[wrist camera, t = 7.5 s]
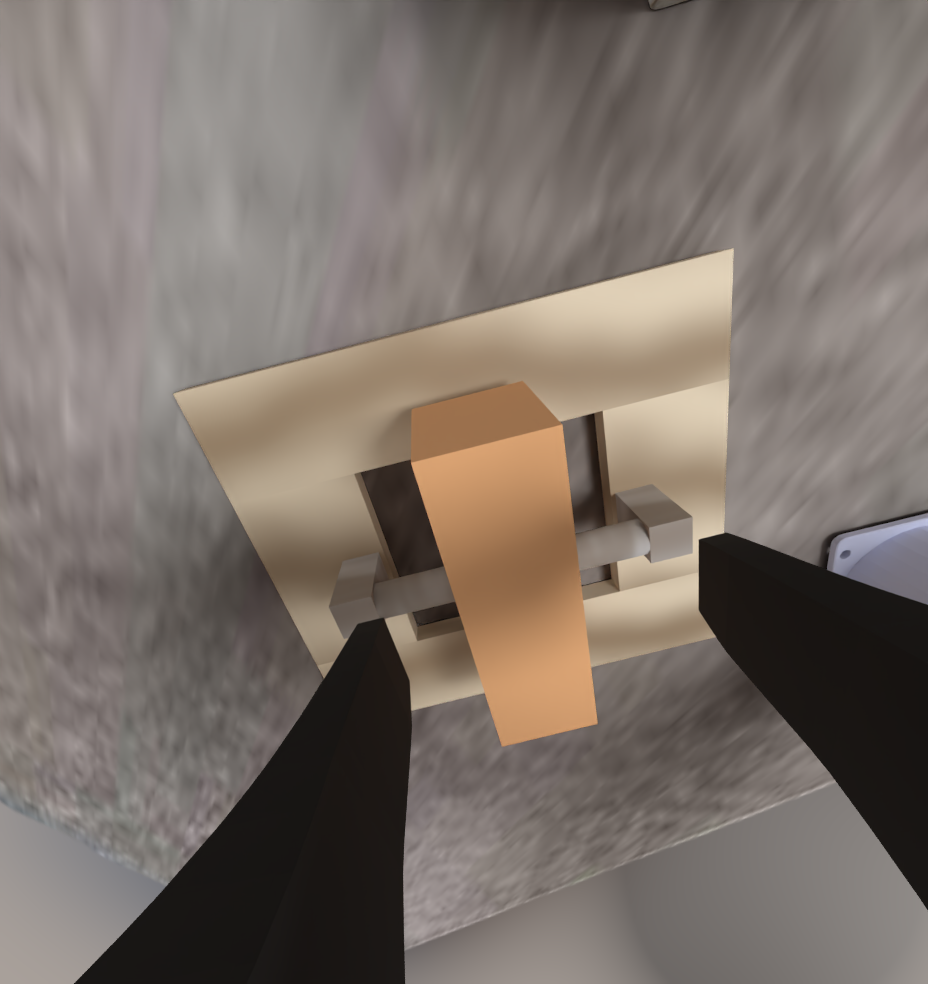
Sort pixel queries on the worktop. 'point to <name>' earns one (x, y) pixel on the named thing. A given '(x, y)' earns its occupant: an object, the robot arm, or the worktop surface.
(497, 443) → the tall tan block
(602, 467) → the beige board with opening
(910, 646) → the robot arm
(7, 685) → the worktop surface
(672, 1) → the cracker box
